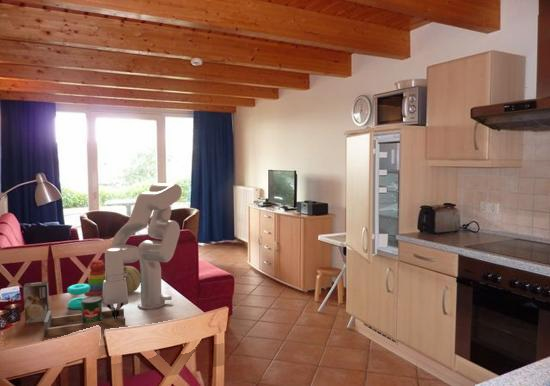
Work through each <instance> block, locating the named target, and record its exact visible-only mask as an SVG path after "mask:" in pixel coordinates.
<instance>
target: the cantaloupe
mask: <svg viewBox="0 0 550 386" xmlns="http://www.w3.org/2000/svg"><path fill="white" fill-rule="evenodd" d="M124 273H127V274H128V276H126V277H124V278H126V282H127V291H128V295H129V294H133V293H134V292H135V291H137V290H138V289H139V287H140V286H141V272H140V270H139V269H137V268H136V267H135V266H131V265H124Z"/></svg>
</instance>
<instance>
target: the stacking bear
mask: <svg viewBox="0 0 550 386" xmlns="http://www.w3.org/2000/svg"><path fill="white" fill-rule="evenodd" d="M89 268H90V273H89V275H88V279H87V284H88V285H90V290H89V291H88V292H87V293H85V294H84V295H86V296H87V297H92V296H99V297H102V293H103V282H104V280H105V270H104V269H105V260H104V259H100V260H99V259H98V260H97V259H95V260H93V261H92V262H91V263H90V264H89Z"/></svg>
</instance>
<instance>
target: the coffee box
mask: <svg viewBox="0 0 550 386" xmlns="http://www.w3.org/2000/svg"><path fill="white" fill-rule="evenodd" d="M22 289H23V306H24V323H26V324H32V323H38V322H39V323H41V322H44V321H45V318H46V315H47V313H48V311H51V310H50V294H49V281H47V280H46V281H36V282H28V283H24V285H23V288H22Z"/></svg>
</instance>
